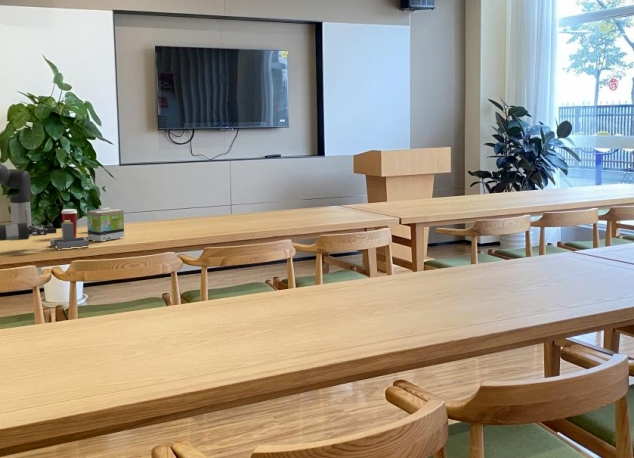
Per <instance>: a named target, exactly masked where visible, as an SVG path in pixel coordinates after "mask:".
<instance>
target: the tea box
mask: <svg viewBox="0 0 634 458" xmlns="http://www.w3.org/2000/svg"><path fill="white" fill-rule="evenodd" d="M102 209H103V208H102ZM124 211H125V210H123V209H118V208H117V209H116V208H109V209H103V210H96V209H94V210H88V211H87V213H86V214H87V223H86V224H87V240H88V241H89V240H95V241H103V240H109V239H114V238H120V237H124V238H125V224H124V223H125V218H124V214H125V213H124ZM95 241H94V242H95ZM109 241H110V240H109Z"/></svg>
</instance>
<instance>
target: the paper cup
mask: <svg viewBox="0 0 634 458" xmlns="http://www.w3.org/2000/svg"><path fill="white" fill-rule="evenodd" d="M60 213H61V217H62V218H61V219H62V223H64V220H70V222H72V223H73V228H74V238H77V234H78V233H77V231H78V229H77V223H78V222H77V219H78V218H77V216H78V215H77V213H78V211H77V209H73V208H67V209H65V208H64V209H62V210H61V212H60Z"/></svg>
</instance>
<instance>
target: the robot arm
mask: <svg viewBox="0 0 634 458" xmlns="http://www.w3.org/2000/svg"><path fill="white" fill-rule="evenodd" d="M0 185H4V186H5V187H7V188H9V189H14V190H17V189H18V190H19V193H17V194H15V195H12V196H10V197H9V201H10V203H9V204H10V214H11V215H10V217H11V218H10V219H11V223H8V224H0V242H3V241H11V242H12V241H24V240H25V241H26V240H29V238H30V237H31V236H33V237H36V236H47V235H49V234H57V228H56V227H55V228H54V225H42V224H41V225H40V224H39V225H32V211H31V176H30V173H29V172H28V171H27V170H14V169H13V170H9V169H8V167H7V166H6V165H4V164H2V163H0Z"/></svg>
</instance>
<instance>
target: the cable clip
mask: <svg viewBox="0 0 634 458" xmlns="http://www.w3.org/2000/svg"><path fill="white" fill-rule="evenodd" d="M54 239H55V238H52V239H49V244H50V245H51V246H55V243H54ZM50 245H49V246H50ZM51 246H50V247H51Z"/></svg>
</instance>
